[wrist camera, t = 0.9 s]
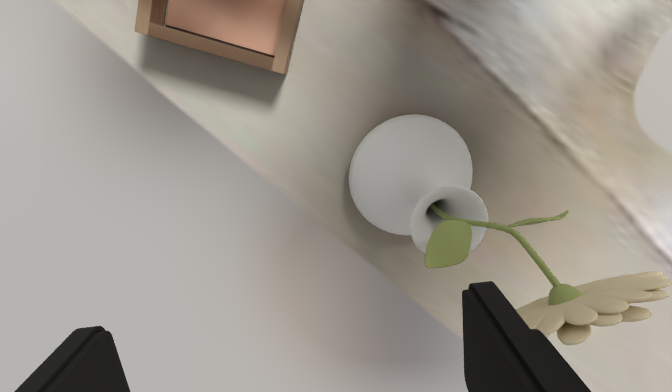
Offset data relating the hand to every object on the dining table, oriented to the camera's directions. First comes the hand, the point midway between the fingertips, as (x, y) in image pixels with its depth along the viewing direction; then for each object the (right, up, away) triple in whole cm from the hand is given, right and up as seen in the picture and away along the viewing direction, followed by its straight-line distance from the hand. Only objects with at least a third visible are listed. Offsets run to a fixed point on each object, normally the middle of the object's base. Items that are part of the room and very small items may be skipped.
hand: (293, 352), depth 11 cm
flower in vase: (+9, +6, +28) cm, 30 cm away
